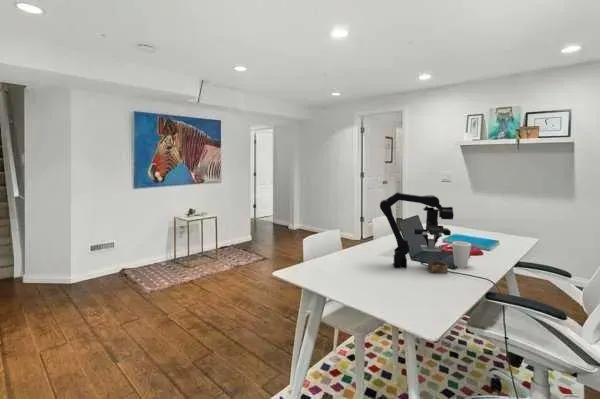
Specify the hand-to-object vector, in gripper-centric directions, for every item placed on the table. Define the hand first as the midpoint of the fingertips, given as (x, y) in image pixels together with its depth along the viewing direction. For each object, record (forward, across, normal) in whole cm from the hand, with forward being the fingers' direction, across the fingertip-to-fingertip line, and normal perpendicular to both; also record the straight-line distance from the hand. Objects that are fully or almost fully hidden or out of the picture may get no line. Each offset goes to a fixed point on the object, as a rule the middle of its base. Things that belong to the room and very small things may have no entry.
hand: (430, 246), depth 184 cm
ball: (+10, +3, -4) cm, 12 cm away
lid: (+1, 0, 0) cm, 1 cm away
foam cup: (+12, +18, +5) cm, 22 cm away
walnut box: (+12, +3, -4) cm, 13 cm away
